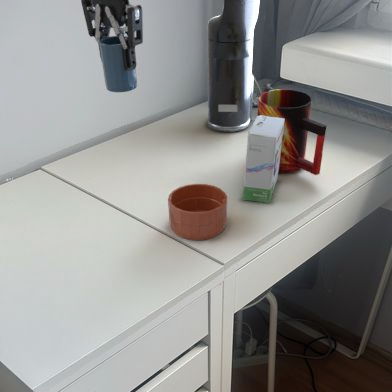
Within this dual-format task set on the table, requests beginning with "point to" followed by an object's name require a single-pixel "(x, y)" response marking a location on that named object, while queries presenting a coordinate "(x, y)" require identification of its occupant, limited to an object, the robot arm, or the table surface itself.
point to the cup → (116, 66)
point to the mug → (294, 128)
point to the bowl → (197, 211)
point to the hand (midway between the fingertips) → (118, 66)
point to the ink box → (263, 158)
